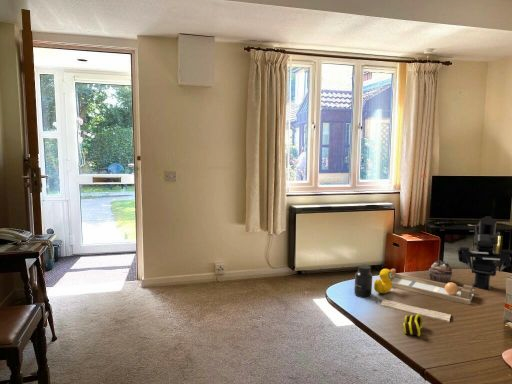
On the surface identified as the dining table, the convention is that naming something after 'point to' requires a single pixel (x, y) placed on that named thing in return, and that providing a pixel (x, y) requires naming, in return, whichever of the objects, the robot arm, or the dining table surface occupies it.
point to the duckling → (384, 281)
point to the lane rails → (427, 292)
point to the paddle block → (466, 292)
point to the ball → (451, 288)
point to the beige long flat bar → (416, 310)
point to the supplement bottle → (363, 281)
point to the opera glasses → (413, 324)
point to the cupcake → (440, 272)
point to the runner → (425, 287)
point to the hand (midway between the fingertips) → (484, 269)
